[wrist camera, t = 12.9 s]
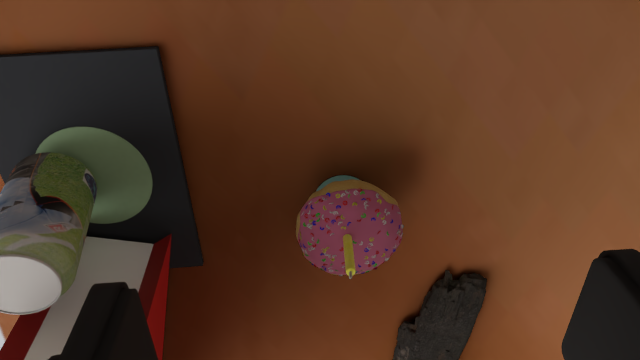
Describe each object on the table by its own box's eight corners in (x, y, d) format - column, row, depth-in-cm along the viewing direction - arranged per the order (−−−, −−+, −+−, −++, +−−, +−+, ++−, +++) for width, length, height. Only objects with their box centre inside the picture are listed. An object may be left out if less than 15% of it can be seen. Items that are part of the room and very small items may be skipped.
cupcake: (275, 182, 41) (275, 282, 31) (366, 137, 39) (397, 227, 29) (322, 250, 45) (336, 357, 35) (406, 212, 44) (445, 313, 33)
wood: (415, 264, 47) (423, 287, 45) (488, 269, 48) (499, 291, 45) (371, 404, 58) (375, 428, 56) (430, 405, 59) (437, 429, 57)
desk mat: (-46, 57, 34) (-52, 60, 33) (158, 46, 34) (156, 48, 34) (48, 273, 44) (45, 278, 44) (203, 261, 45) (202, 266, 44)
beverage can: (14, 139, 37) (-87, 240, 26) (117, 151, 38) (57, 252, 28) (25, 208, 40) (-62, 321, 30) (119, 217, 41) (67, 329, 31)
